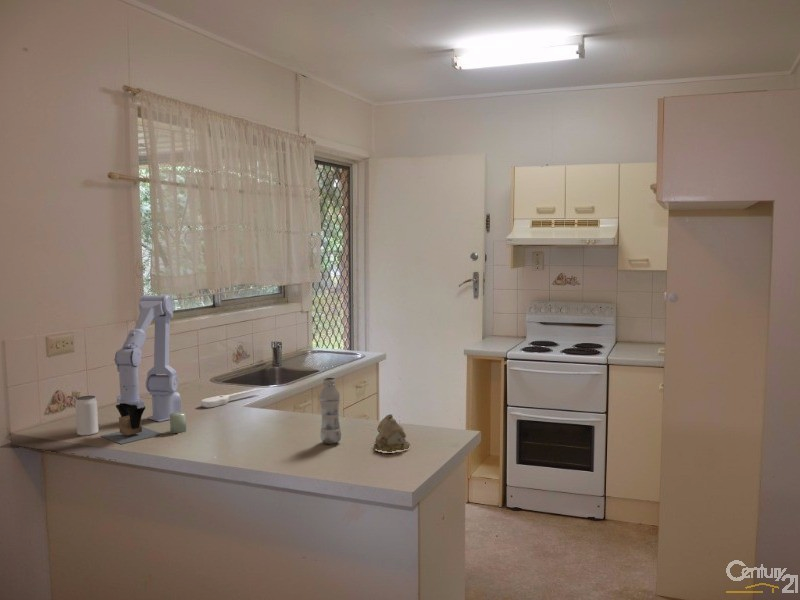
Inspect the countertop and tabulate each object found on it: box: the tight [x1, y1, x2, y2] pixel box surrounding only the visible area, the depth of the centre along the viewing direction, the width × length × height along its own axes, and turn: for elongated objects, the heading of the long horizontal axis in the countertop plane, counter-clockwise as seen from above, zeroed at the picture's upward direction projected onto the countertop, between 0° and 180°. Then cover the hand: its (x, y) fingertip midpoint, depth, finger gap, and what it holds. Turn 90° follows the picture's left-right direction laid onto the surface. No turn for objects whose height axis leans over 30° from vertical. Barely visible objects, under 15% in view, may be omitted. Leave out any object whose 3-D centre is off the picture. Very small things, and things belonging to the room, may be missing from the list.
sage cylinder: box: [169, 411, 187, 434], centre depth 226 cm, size 5×5×6 cm
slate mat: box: [100, 426, 163, 445], centre depth 223 cm, size 14×14×1 cm
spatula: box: [200, 387, 263, 409], centre depth 269 cm, size 28×6×3 cm, turn 140°
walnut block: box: [118, 415, 143, 435], centre depth 222 cm, size 5×5×5 cm
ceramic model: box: [374, 414, 411, 452], centre depth 206 cm, size 14×11×10 cm
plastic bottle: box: [319, 377, 342, 445], centre depth 210 cm, size 6×7×20 cm
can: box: [74, 395, 99, 437], centre depth 226 cm, size 6×6×12 cm
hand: (131, 426), depth 223 cm, fingers closed on walnut block, 5 cm apart
